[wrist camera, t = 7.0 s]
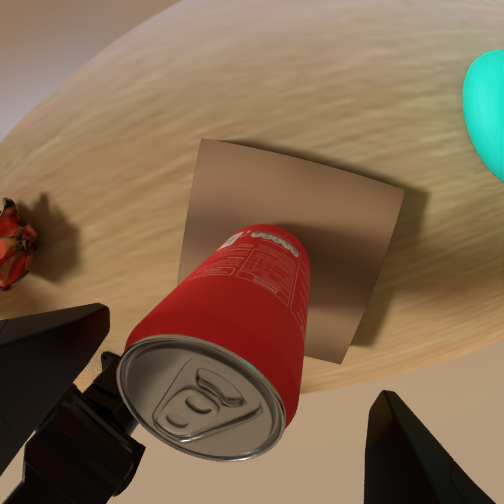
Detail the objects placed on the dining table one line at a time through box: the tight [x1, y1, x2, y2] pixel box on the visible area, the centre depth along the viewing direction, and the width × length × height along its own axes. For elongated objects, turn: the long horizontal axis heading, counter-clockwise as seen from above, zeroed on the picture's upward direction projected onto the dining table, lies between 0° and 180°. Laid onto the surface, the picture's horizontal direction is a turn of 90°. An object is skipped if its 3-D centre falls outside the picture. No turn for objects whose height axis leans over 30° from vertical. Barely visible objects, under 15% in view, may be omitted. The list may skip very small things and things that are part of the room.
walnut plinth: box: [177, 138, 405, 364], centre depth 19 cm, size 12×12×2 cm
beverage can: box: [117, 224, 311, 462], centre depth 13 cm, size 5×5×12 cm
